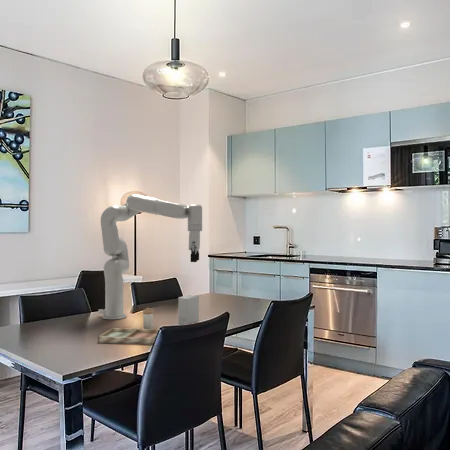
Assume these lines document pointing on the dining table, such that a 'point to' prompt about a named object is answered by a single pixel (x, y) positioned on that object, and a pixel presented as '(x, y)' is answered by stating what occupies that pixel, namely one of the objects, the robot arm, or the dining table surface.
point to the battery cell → (148, 318)
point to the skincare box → (188, 309)
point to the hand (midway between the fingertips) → (194, 261)
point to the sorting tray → (128, 336)
